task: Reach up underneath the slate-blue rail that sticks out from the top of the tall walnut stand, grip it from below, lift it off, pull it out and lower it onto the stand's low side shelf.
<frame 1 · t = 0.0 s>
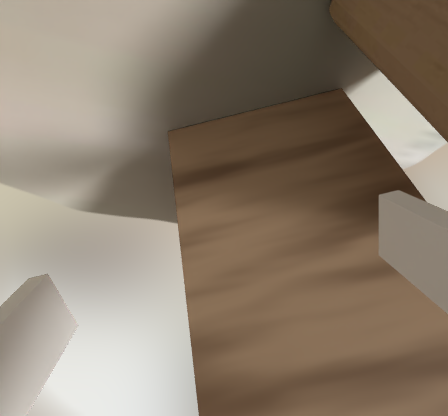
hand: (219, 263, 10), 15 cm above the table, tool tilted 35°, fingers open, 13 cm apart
walnut stand: (255, 142, 26), on the table
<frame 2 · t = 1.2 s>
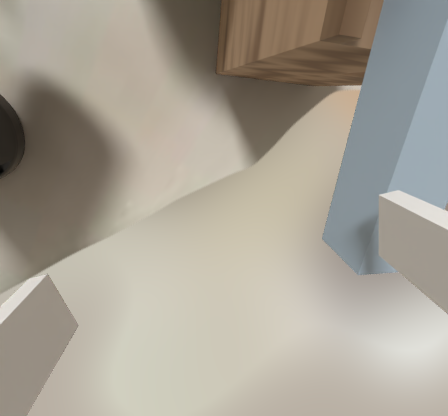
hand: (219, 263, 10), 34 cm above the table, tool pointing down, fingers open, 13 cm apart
walnut stand: (249, 12, 36), on the table
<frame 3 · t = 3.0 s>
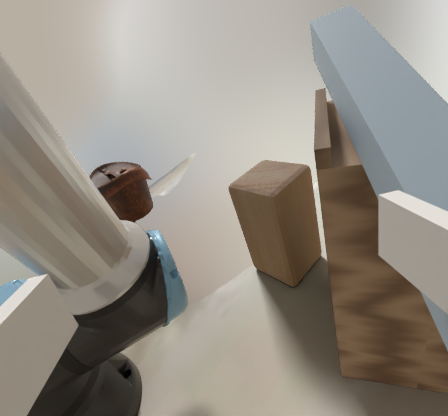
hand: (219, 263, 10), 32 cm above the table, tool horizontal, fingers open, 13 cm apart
wooden block: (287, 262, 51), on the table
slate rail: (378, 133, 17), point 31 cm above the table, tilted 18°, touching walnut stand
walnut stand: (367, 321, 37), on the table
brown pot: (137, 212, 90), on the table
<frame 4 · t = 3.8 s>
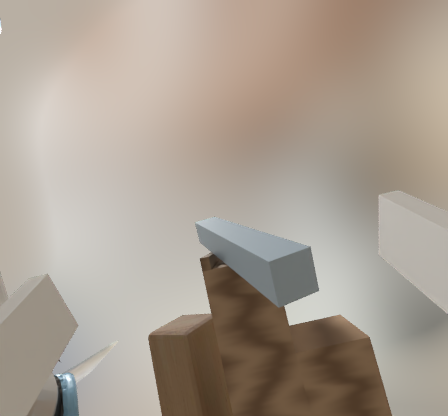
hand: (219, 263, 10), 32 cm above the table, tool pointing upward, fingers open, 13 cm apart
slate rail: (236, 257, 31), point 31 cm above the table, tilted 14°, touching walnut stand
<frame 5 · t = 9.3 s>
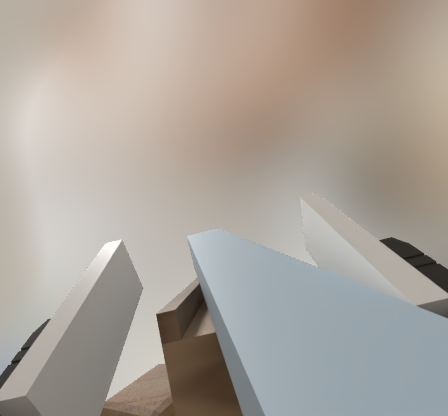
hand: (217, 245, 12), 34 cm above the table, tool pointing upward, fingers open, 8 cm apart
slate rail: (239, 307, 15), point 30 cm above the table, tilted 10°, touching gripper
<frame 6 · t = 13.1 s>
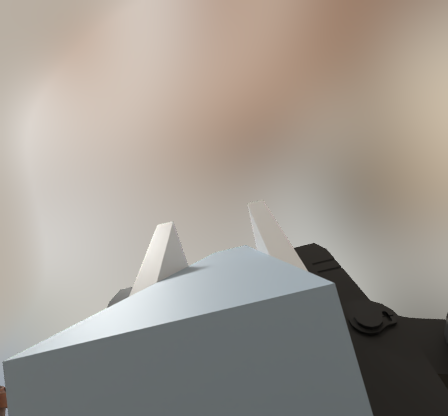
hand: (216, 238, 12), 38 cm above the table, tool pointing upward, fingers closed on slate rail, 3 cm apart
slate rail: (239, 314, 15), point 34 cm above the table, touching gripper
when the fingers open (25 cm above the table, at t = 16.4 s): slate rail stays where it is, resting on walnut stand.
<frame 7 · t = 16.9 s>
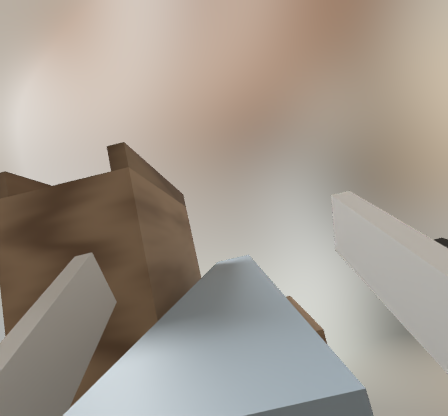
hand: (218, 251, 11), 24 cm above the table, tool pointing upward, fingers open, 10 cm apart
slate rail: (243, 332, 15), point 19 cm above the table, touching walnut stand
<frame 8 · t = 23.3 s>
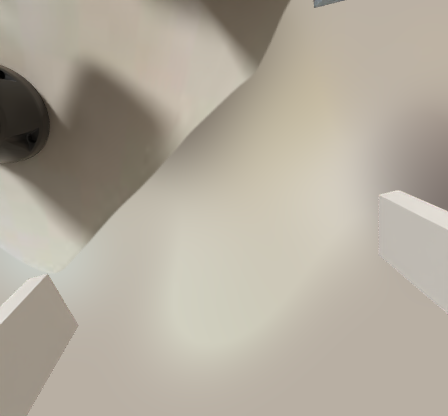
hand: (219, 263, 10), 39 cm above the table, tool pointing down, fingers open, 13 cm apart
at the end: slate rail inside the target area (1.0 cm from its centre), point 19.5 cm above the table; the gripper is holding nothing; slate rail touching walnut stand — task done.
